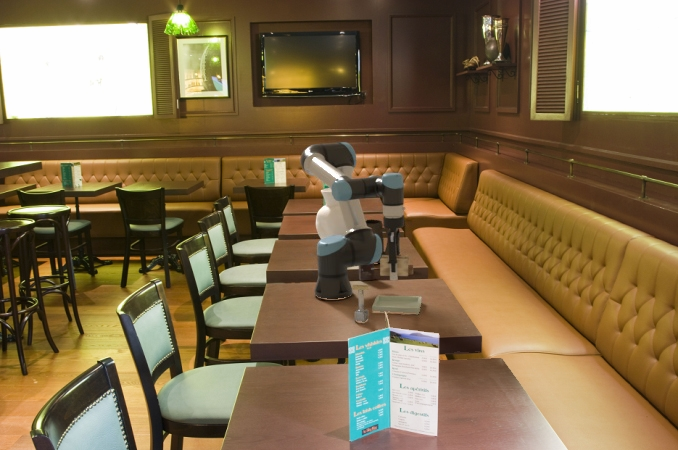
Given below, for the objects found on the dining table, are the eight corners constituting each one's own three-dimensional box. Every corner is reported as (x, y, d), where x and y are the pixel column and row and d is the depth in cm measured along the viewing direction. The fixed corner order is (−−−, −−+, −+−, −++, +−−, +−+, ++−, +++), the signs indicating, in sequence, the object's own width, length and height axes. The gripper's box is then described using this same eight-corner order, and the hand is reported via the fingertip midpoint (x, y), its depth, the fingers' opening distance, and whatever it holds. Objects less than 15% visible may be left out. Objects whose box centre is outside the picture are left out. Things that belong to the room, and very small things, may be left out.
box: (361, 281, 272) (360, 254, 269) (358, 278, 276) (357, 251, 274) (375, 280, 273) (374, 252, 271) (372, 277, 278) (371, 250, 275)
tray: (372, 313, 233) (372, 306, 233) (377, 301, 246) (377, 295, 245) (419, 314, 230) (418, 308, 229) (421, 303, 242) (421, 296, 242)
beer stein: (356, 264, 299) (358, 222, 294) (364, 258, 308) (365, 217, 304) (388, 268, 293) (390, 226, 288) (394, 262, 303) (396, 221, 298)
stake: (352, 323, 224) (351, 287, 221) (355, 318, 228) (353, 283, 226) (368, 324, 223) (367, 288, 220) (370, 319, 227) (369, 284, 225)
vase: (335, 239, 349) (333, 184, 343) (363, 245, 334) (361, 188, 327) (309, 245, 337) (307, 189, 331) (337, 252, 321) (334, 193, 315)
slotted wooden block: (380, 275, 233) (379, 259, 232) (382, 270, 239) (382, 255, 238) (412, 276, 231) (412, 260, 229) (413, 271, 237) (413, 255, 236)
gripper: (401, 221, 221) (402, 285, 225) (406, 211, 239) (407, 270, 244) (379, 221, 222) (381, 285, 227) (386, 211, 241) (388, 270, 245)
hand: (394, 277), depth 235 cm, fingers closed on slotted wooden block, 6 cm apart
